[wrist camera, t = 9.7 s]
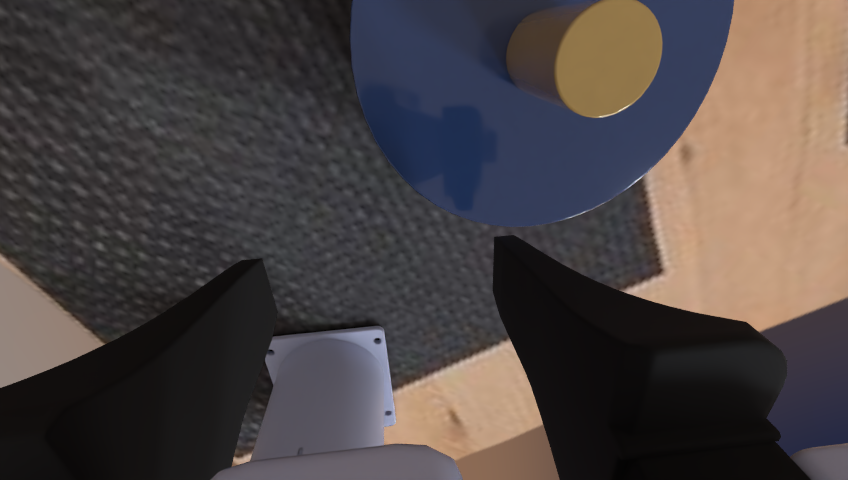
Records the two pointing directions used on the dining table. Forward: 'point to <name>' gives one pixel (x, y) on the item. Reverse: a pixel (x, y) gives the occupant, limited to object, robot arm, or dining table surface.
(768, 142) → the dining table surface
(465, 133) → the lid
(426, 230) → the dining table surface
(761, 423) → the robot arm
